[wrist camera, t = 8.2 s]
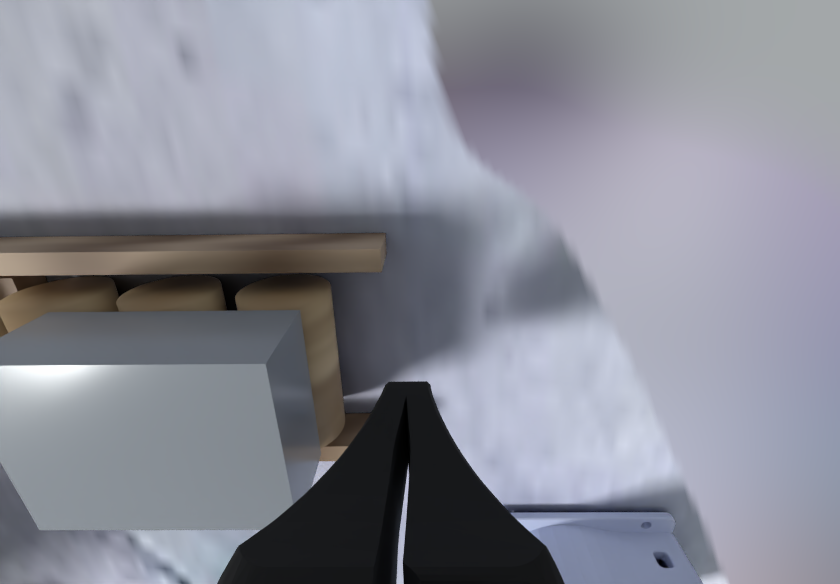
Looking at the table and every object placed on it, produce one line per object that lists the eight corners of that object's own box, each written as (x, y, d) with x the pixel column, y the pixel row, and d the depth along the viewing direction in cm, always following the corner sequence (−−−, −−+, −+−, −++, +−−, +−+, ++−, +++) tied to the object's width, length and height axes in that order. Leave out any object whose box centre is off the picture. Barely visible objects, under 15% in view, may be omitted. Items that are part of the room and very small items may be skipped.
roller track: (385, 232, 15) (376, 261, 12) (394, 426, 19) (389, 485, 16) (-119, 238, 15) (-250, 267, 12) (-11, 429, 19) (-92, 487, 16)
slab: (300, 310, 13) (265, 364, 10) (321, 454, 15) (298, 529, 12) (48, 312, 13) (-56, 365, 10) (109, 454, 15) (39, 530, 12)
